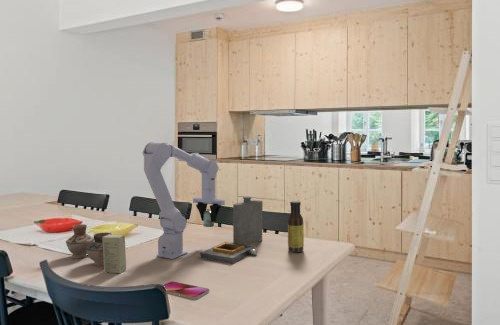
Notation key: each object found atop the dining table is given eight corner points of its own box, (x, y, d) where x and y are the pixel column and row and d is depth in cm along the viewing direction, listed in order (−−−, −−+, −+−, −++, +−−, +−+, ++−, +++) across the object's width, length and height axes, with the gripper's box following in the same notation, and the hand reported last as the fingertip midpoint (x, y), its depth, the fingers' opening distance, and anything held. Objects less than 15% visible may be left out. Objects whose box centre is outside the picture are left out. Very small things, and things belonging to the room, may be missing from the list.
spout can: (210, 227, 166) (210, 210, 166) (201, 226, 168) (201, 209, 168) (216, 225, 170) (215, 208, 170) (207, 224, 172) (207, 207, 172)
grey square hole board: (239, 264, 144) (239, 256, 144) (200, 258, 152) (200, 250, 152) (262, 252, 160) (262, 244, 160) (225, 246, 168) (225, 239, 168)
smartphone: (171, 280, 127) (210, 289, 120) (171, 283, 127) (211, 292, 120) (155, 288, 121) (195, 297, 113) (155, 291, 121) (195, 301, 113)
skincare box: (126, 269, 139) (126, 234, 138) (120, 273, 135) (119, 237, 134) (109, 268, 140) (108, 233, 139) (102, 272, 136) (101, 236, 135)
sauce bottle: (306, 251, 161) (307, 202, 160) (294, 254, 158) (295, 203, 156) (296, 247, 167) (296, 199, 165) (284, 250, 163) (284, 201, 162)
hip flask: (236, 247, 168) (236, 199, 166) (230, 245, 171) (230, 198, 169) (263, 240, 179) (263, 195, 177) (257, 238, 182) (257, 194, 180)
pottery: (85, 251, 162) (85, 221, 161) (126, 262, 147) (125, 230, 146) (58, 258, 152) (57, 226, 152) (98, 270, 138) (98, 236, 137)
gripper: (228, 188, 168) (228, 221, 169) (199, 186, 175) (199, 217, 176) (219, 190, 162) (219, 224, 163) (189, 188, 169) (190, 220, 170)
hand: (208, 221), depth 169 cm, fingers closed on spout can, 4 cm apart
